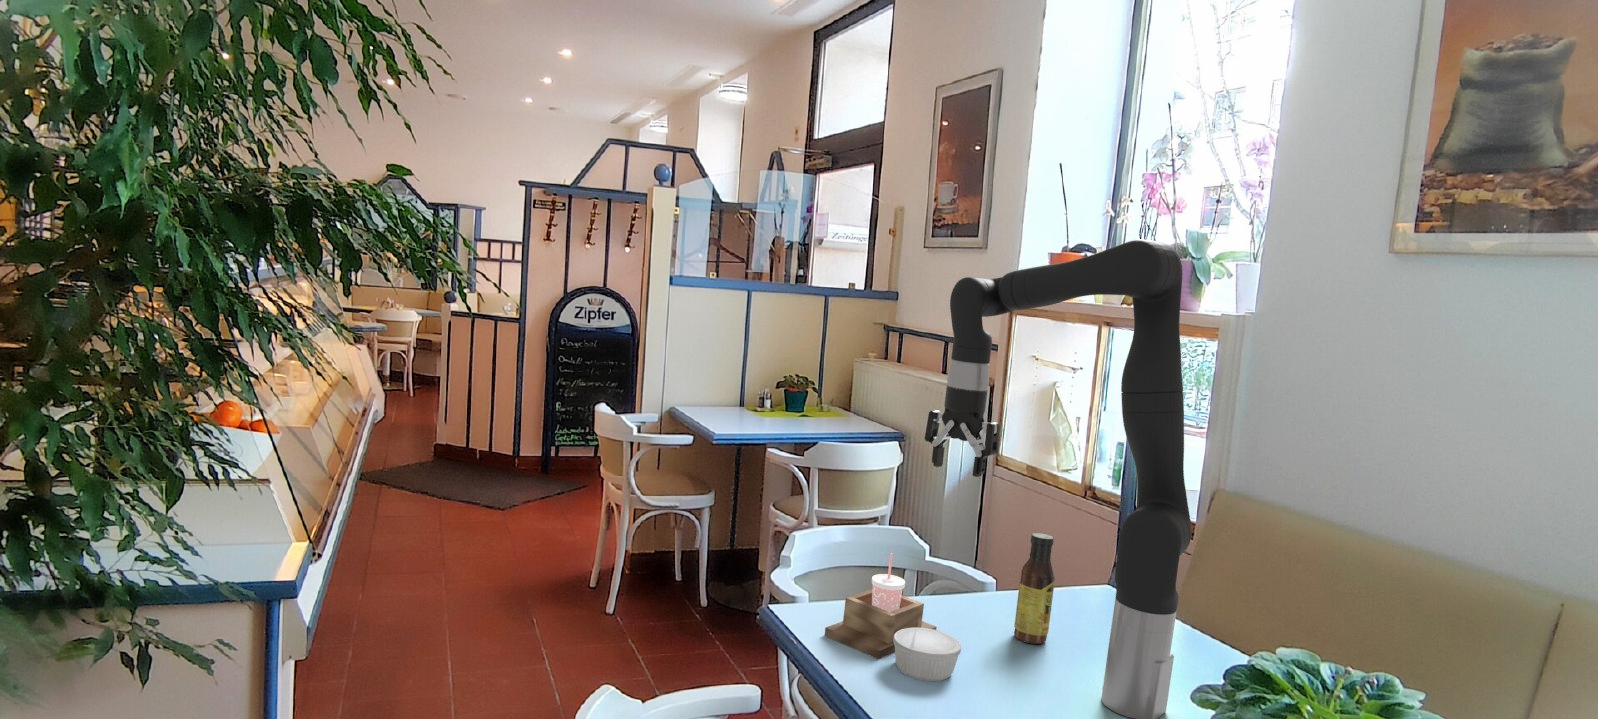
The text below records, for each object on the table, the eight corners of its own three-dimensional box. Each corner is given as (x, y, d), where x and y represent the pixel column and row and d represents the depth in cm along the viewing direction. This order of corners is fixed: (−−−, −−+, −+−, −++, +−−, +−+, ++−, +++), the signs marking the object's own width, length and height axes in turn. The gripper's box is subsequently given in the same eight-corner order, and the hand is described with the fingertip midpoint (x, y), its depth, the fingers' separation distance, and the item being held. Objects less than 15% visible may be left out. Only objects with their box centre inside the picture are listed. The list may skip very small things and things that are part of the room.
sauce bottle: (1047, 648, 168) (1062, 543, 166) (1013, 642, 169) (1026, 538, 167) (1045, 634, 174) (1059, 534, 172) (1012, 629, 176) (1025, 529, 174)
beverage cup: (860, 622, 167) (868, 548, 166) (889, 619, 170) (897, 546, 169) (876, 635, 162) (885, 559, 160) (906, 632, 164) (915, 557, 163)
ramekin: (879, 657, 157) (882, 627, 156) (936, 653, 161) (939, 624, 160) (909, 687, 146) (913, 656, 146) (969, 682, 150) (973, 652, 150)
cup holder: (935, 634, 169) (939, 600, 168) (878, 659, 155) (882, 622, 155) (883, 613, 177) (887, 581, 176) (824, 635, 163) (828, 600, 163)
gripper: (1011, 391, 167) (1000, 477, 169) (945, 379, 176) (935, 461, 178) (991, 392, 161) (980, 482, 163) (923, 380, 171) (914, 464, 172)
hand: (956, 471), depth 170 cm, fingers open, 8 cm apart
